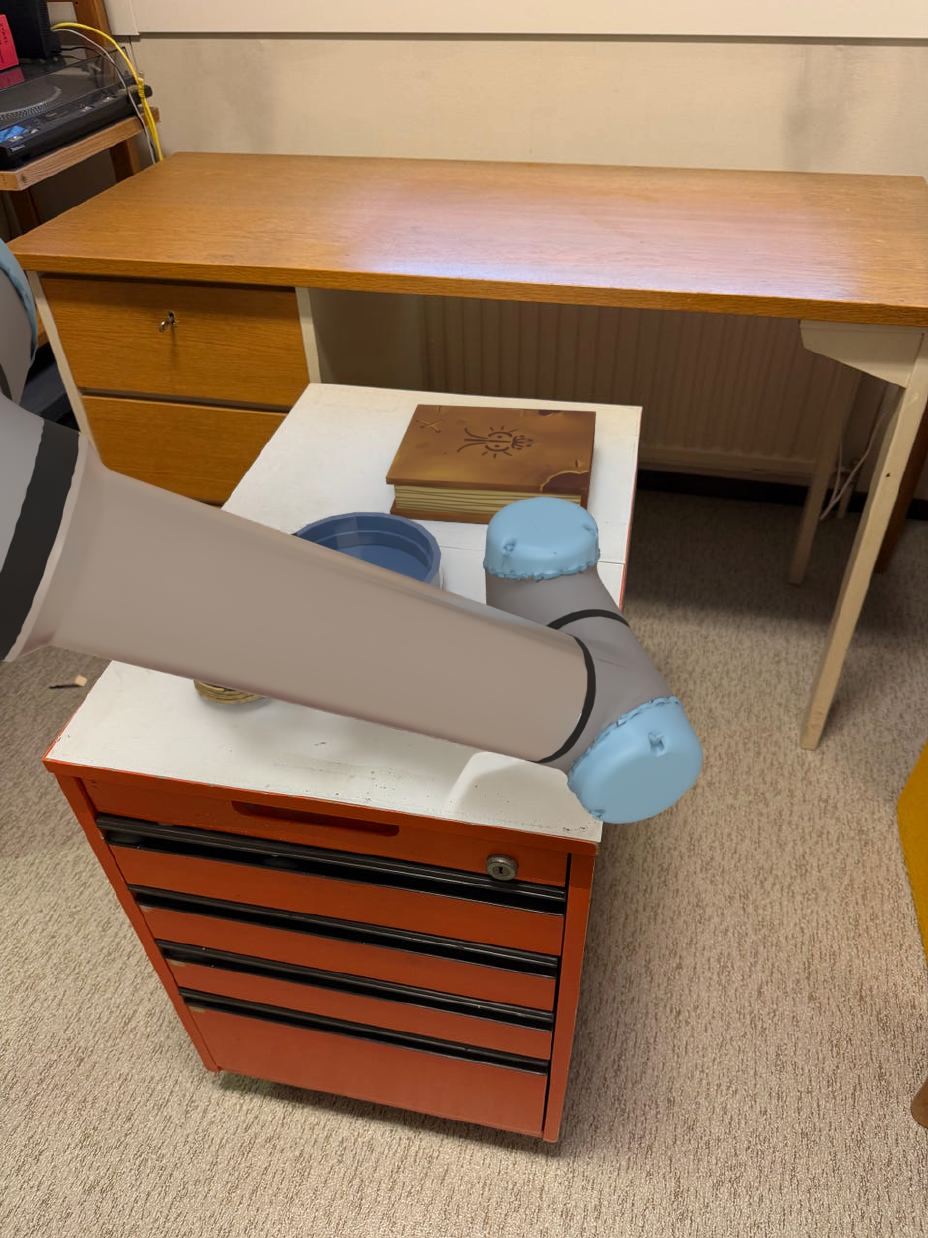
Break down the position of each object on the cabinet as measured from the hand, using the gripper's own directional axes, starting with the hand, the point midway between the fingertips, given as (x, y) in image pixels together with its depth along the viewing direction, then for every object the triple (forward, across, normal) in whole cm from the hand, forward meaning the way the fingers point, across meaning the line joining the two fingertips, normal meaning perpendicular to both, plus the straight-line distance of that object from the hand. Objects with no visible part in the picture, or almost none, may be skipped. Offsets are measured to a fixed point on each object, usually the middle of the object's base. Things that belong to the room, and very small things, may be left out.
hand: (197, 581), depth 79 cm
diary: (-11, +41, -11) cm, 44 cm away
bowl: (-6, +16, -11) cm, 20 cm away
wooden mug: (-5, 0, -10) cm, 11 cm away
